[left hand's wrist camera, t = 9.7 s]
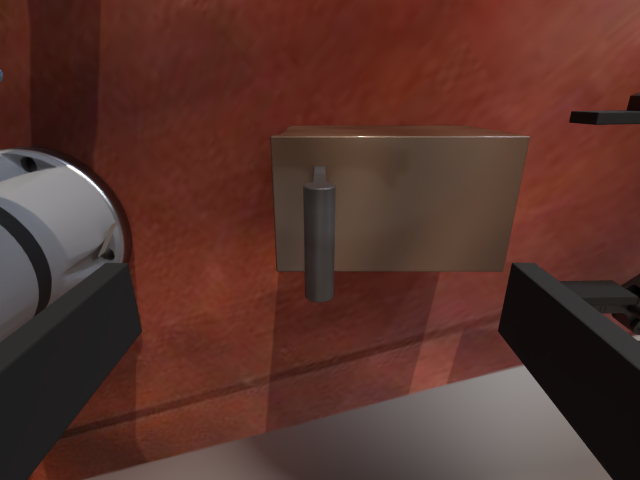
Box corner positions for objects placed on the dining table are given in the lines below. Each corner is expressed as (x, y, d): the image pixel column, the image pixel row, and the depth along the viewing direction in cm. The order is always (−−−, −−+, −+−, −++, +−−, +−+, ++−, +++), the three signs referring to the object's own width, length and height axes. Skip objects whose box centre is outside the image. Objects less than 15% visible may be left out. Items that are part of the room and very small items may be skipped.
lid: (278, 264, 26) (261, 330, 19) (272, 134, 23) (249, 151, 15) (495, 264, 26) (566, 330, 19) (520, 134, 23) (618, 150, 15)
